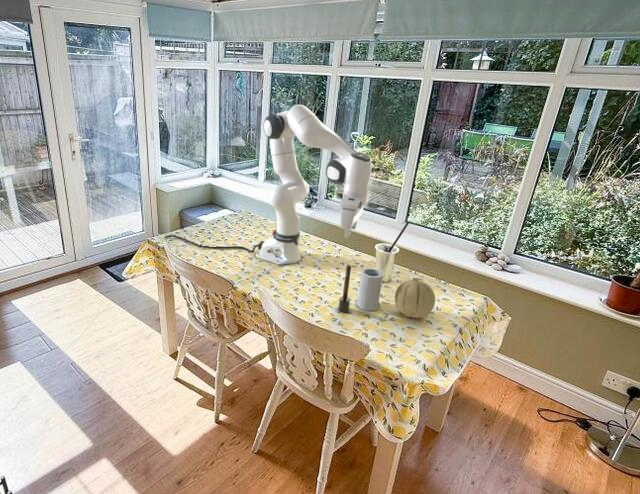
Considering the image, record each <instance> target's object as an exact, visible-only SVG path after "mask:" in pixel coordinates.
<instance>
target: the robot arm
mask: <svg viewBox="0 0 640 494" xmlns="http://www.w3.org/2000/svg"><path fill="white" fill-rule="evenodd" d="M263 132H264V135H265V136H266V137H267V138H268V139H269V147H270V155H271V161H272V162H271V163H272V167H273V172H274V173H275V174H276V175H278V176H279V178H280V180H281V181H280V182H281V183H282V184H280V185H277V186H276V187H275V188H273V189H272V190H271V191H270V193H269V194H268V202H269V205H271V206H272V208H273V209H274V210H275V215H276V227H275V229H274V230H273V231H272V232H271V237H269V238H267V239H266V240H260V242H259V243H258V244H255V245H254V246H253V248H252V250H251V249H249V248H247V247H244V246H240V245H234V246H233V245H231V246H216V247H209V246H210V245H206V246H202V245H203V244H200V245H198V244H199V243H197V244H194V243H195V242H194V241H191V240H188V239H187V238H185V237H182V236H179V235H174V234H167V235H166V236H165V237H164V239H168V238H176V239H180V240H183V241H185V242H187V243H189V244H192V245H195V246H198V247H202V248H209V249H243V250H245V251H247V252H250V253H253V252H255V250H256V248H257V252H256V253H255V256H256V258H258V259H261V260H263V261H264V260H265V261H267V262H270V263H273V264H277V265H278V266H282V265H285V264H286V265H287V264H294V263H298V262H299V261H300V260H301V258H302V257H301V251H300V239H301V232H300V223H301V218H300V215H299V214H298V213H297V209H296V205H297V204H298V203H300V202H302V201H304V200H305V199H306V198H307V197H308V196H309V194H310V185H309V184H308V182H307V181H306V180H304V178H303V176H302V174H301V172H300V169H299V167H298V161H297V155H296V150H295V149H296V148H295V144H294V139H295V137H296V138H297V139H298V141H299V142H300V143H302V145H304V146H306V147H308V148H313V149H314V148H315V149H323V150H327V151H330V152H332V153H334V154H335V155H336V156H337V157H338V158H334V159H330V160H329V162H328V163H327V165H326V168H325V175H326V179H327V180H328V182H330V183H331V184H333V185H342V186H343V193H342V198H341V200H340V203H339V207H340V208H341V210H340V218H339V219H340V221H339V225H340V229H342V230H343V231H344V236H343V237H344V238H346V239H348V238H350V237H351V230H356V228H357V225H358V221H359V219H360V218H361V216H362V215H363V213H364V206H366V205H367V203H368V197H369V191H370V190H369V184H370V182H371V179H372V177H371V176H372V167H373V166H372V158H371V157H370V156H369V155H368V154H366V153H364V152H359V151H356V149H354V148H353V147H352V146H351V144H349V143H348V142H347V141H346V140H345V139H344V138H342V137H341V135H339V134H338V133H336V132H335V131H333V129H330V128H329V127H328V126H327V125H325V124H324V123H323V122H322V121H321V120H320V119H319V117H317V115H316V114H315V113H314V112H313V111H312V110H310V109H309V108H308V107H307V106H305V105H304V104H296V105H293V106H291V108H289V110H285V111H281V112H277V113H273V114H270V115H268V116H266V117H265V118H264V121H263ZM183 238H184V239H183Z"/></svg>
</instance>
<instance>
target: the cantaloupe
mask: <svg viewBox="0 0 640 494" xmlns="http://www.w3.org/2000/svg"><path fill="white" fill-rule="evenodd" d="M394 302H395V306H396V308H397V310H398V311H399V312H400V313H401V314H402V315H403V316H404V317H407V318H411V319H412V318H413V319H421V318H425V317H427V316H429V315H430V314H431V313H432V311H433V310H434V307H435V303H436V295H435V292H434V290H433V288H432V287H431V286H430V285H429V284H428V283H426V282H424V281H422V280H419V279H417V278H416V277H413V278H412V279H411V280H406V281H403V282H402V283H401V284H399V286H398V287H397V288H396V290H395V294H394Z"/></svg>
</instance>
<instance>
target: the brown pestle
mask: <svg viewBox="0 0 640 494" xmlns="http://www.w3.org/2000/svg"><path fill="white" fill-rule="evenodd" d="M351 271H352V266H351V265H350V264H346V267H345V274H344V283H343V291H342V296H340V297H339V301H338V311H339V312H340V313H345V314H346V313H348V312H349V310H350V304H351V303H350V302H351V299H350V297H348V295H349V287H350V280H351Z"/></svg>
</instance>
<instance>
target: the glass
mask: <svg viewBox="0 0 640 494" xmlns="http://www.w3.org/2000/svg"><path fill="white" fill-rule="evenodd" d="M409 224H410V223H409V222H407V221H406V223H405V225H404V226H403V228H402V229H401V231H400V232H399V234H398V236H397V237H396V238H395V240H394V242H393V243H392V244H389V243H378V244H376V245H375V247H374V248H375V269H378V270H380V271H381V272H382V273H383V278H382V283H386V282H390V280H391V275H392V271H393V268H394V265H395V263H396V259H397V256H398V253H399V251H400V248H398V247H397V246H396V244H397V243H398V241H399V240H400V238H401V236H402V235H403V233H404V232H405V231H406V229H407V227H408V226H409Z"/></svg>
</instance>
